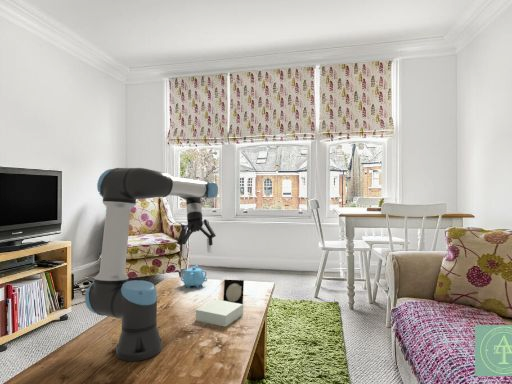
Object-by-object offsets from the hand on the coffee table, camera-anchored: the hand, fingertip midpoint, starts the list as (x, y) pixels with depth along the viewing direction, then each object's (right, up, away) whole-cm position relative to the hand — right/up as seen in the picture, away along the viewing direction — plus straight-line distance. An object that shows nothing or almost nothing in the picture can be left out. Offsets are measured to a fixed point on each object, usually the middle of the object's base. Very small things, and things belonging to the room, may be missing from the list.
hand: (197, 255), depth 159 cm
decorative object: (+17, -25, +5) cm, 31 cm away
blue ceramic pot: (-8, -24, +35) cm, 43 cm away
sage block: (+12, -25, -13) cm, 31 cm away
